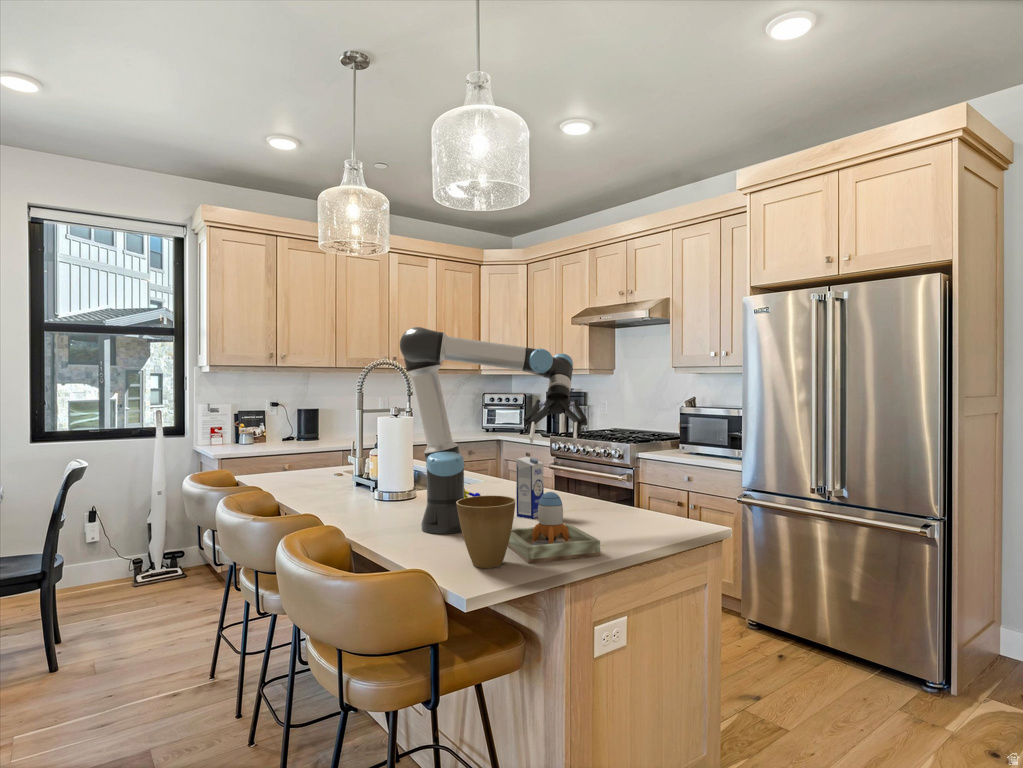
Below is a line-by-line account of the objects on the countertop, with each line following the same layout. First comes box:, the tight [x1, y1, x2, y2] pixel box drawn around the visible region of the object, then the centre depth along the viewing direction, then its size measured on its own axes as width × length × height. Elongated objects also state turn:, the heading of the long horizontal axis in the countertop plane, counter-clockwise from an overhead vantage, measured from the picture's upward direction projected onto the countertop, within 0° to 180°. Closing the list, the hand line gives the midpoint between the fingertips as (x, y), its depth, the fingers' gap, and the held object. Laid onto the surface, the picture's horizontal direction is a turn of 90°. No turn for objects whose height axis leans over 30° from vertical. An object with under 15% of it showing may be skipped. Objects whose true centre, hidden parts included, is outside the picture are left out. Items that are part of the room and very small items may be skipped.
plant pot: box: [456, 495, 517, 569], centre depth 152 cm, size 15×15×16 cm
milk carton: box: [515, 456, 545, 520], centre depth 207 cm, size 7×7×20 cm
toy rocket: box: [532, 491, 569, 544], centre depth 164 cm, size 10×11×15 cm
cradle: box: [507, 523, 601, 564], centre depth 164 cm, size 20×20×4 cm
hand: (552, 440), depth 186 cm, fingers open, 13 cm apart
